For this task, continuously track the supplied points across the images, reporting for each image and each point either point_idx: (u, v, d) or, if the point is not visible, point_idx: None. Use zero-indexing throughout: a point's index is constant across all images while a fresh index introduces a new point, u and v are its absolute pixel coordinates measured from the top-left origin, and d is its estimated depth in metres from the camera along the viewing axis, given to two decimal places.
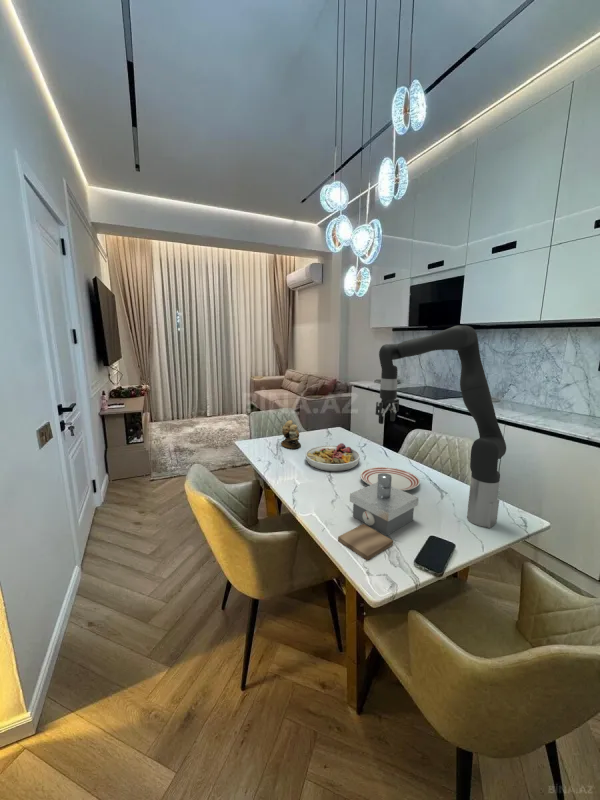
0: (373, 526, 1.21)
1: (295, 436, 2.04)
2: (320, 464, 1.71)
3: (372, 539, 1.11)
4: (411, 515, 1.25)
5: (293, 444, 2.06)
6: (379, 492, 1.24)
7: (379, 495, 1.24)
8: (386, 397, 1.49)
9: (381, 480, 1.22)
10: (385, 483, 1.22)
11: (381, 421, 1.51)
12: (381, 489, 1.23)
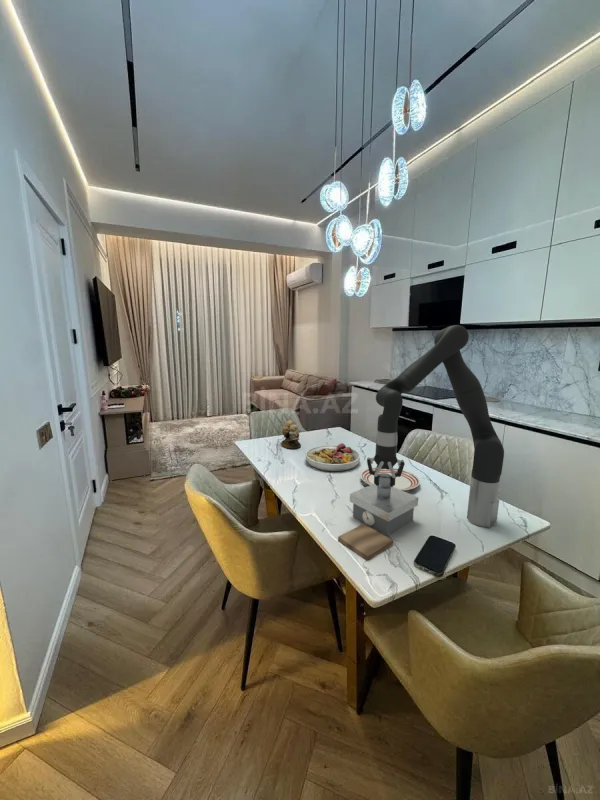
0: (373, 526, 1.21)
1: (295, 436, 2.04)
2: (320, 464, 1.71)
3: (372, 539, 1.11)
4: (411, 515, 1.25)
5: (293, 444, 2.06)
6: (379, 492, 1.24)
7: (379, 495, 1.24)
8: None
9: (381, 480, 1.22)
10: (385, 483, 1.22)
11: None
12: (381, 489, 1.23)
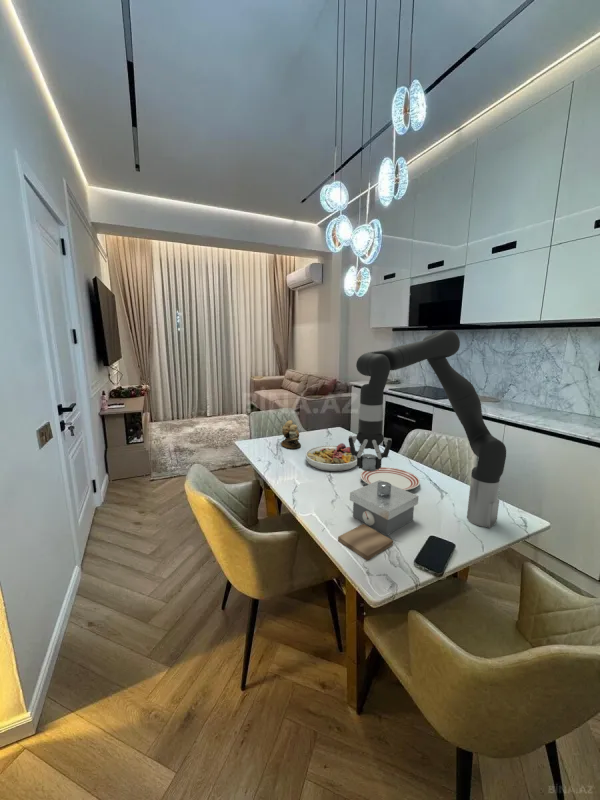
0: (373, 526, 1.21)
1: (295, 436, 2.04)
2: (320, 464, 1.71)
3: (372, 539, 1.11)
4: (411, 515, 1.25)
5: (293, 444, 2.06)
6: (379, 490, 1.23)
7: (379, 493, 1.24)
8: None
9: (365, 462, 1.05)
10: (370, 464, 1.04)
11: None
12: (381, 488, 1.23)
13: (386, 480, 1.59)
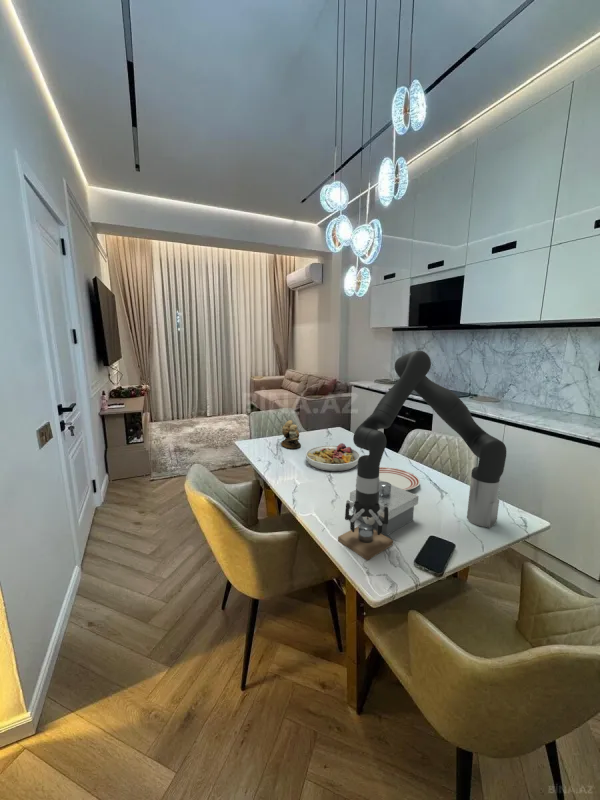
0: (373, 526, 1.21)
1: (295, 436, 2.04)
2: (320, 464, 1.71)
3: None
4: (411, 515, 1.25)
5: (293, 444, 2.06)
6: (379, 490, 1.24)
7: (379, 493, 1.24)
8: None
9: (362, 534, 1.09)
10: (366, 536, 1.09)
11: None
12: (381, 487, 1.23)
13: (386, 480, 1.59)
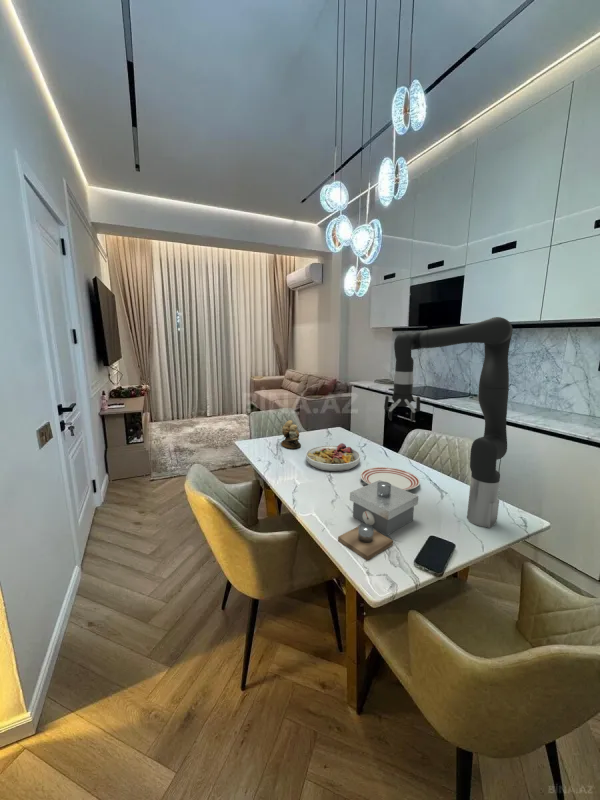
0: (373, 526, 1.21)
1: (295, 436, 2.04)
2: (320, 464, 1.71)
3: None
4: (411, 515, 1.25)
5: (293, 444, 2.06)
6: (378, 490, 1.24)
7: (378, 493, 1.24)
8: None
9: (362, 534, 1.09)
10: (366, 536, 1.09)
11: None
12: (380, 487, 1.23)
13: (386, 480, 1.59)
